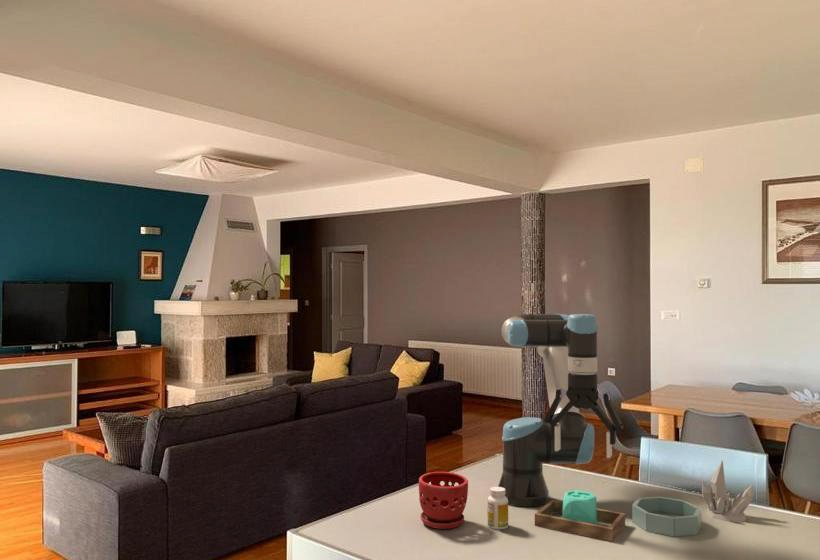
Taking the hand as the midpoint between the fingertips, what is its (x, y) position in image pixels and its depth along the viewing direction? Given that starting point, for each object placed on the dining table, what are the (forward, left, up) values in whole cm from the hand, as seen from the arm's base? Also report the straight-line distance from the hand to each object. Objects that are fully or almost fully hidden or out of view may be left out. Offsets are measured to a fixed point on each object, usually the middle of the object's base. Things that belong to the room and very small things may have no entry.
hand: (582, 453), depth 166 cm
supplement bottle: (-19, -13, -19) cm, 30 cm away
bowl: (+18, +12, -19) cm, 29 cm away
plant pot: (-32, -19, -19) cm, 41 cm away
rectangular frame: (-1, -1, -19) cm, 19 cm away
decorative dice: (-1, -1, -19) cm, 19 cm away
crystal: (+31, +28, -19) cm, 46 cm away
